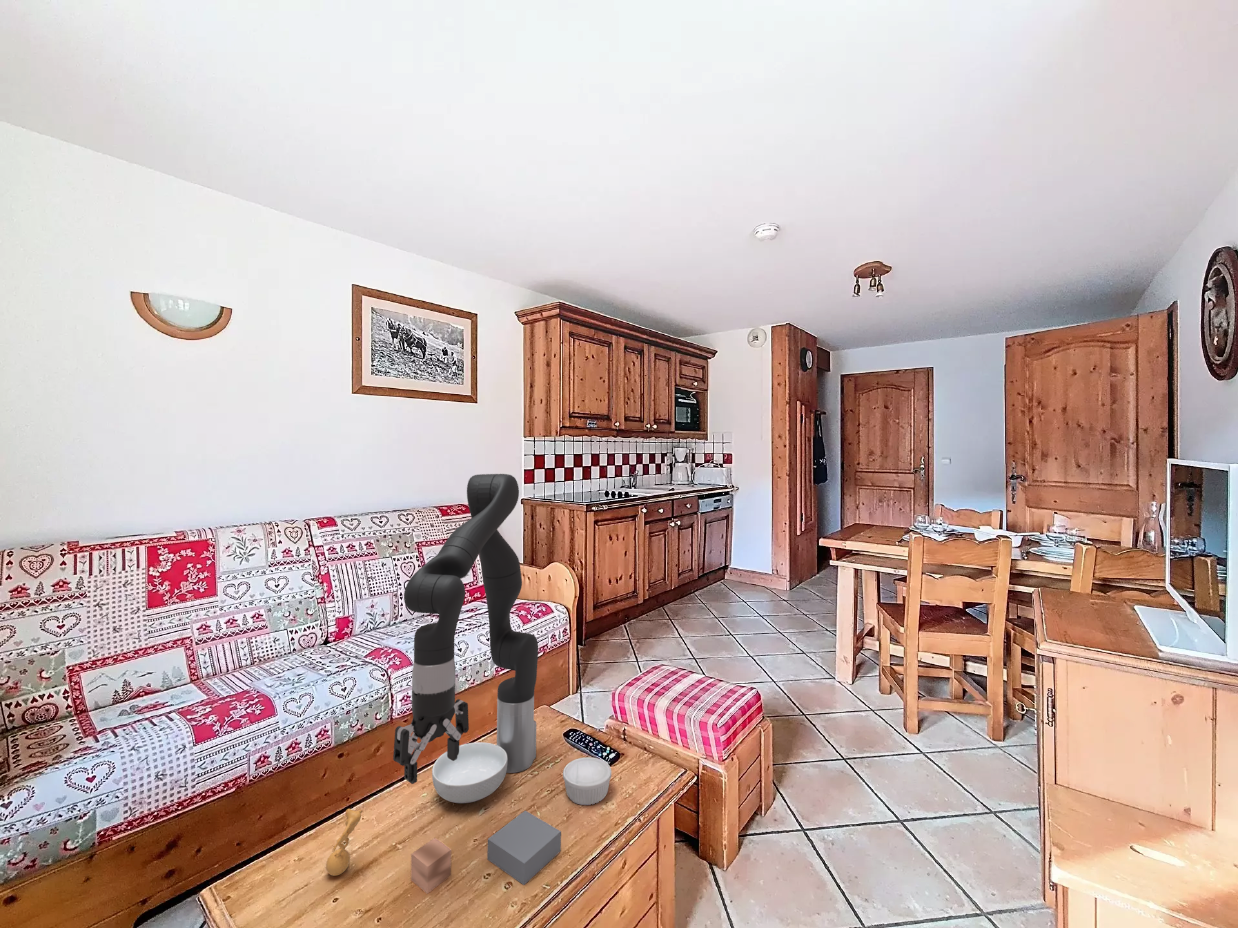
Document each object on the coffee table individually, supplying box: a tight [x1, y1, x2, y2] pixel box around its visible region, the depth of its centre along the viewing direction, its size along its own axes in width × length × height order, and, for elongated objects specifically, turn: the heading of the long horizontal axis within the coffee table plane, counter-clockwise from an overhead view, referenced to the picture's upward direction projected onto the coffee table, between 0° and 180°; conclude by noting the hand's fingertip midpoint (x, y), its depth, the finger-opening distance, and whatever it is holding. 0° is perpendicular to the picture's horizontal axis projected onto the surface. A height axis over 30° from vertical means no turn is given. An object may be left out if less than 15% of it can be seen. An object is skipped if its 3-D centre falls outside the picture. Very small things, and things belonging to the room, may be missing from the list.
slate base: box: [486, 810, 562, 886], centre depth 100 cm, size 10×10×4 cm
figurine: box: [325, 808, 363, 877], centre depth 95 cm, size 8×6×12 cm
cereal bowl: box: [431, 741, 508, 804], centre depth 119 cm, size 17×17×7 cm
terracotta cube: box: [410, 837, 452, 894], centre depth 94 cm, size 5×5×5 cm
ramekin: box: [562, 756, 612, 806], centre depth 119 cm, size 11×11×5 cm
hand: (432, 769), depth 94 cm, fingers open, 8 cm apart
